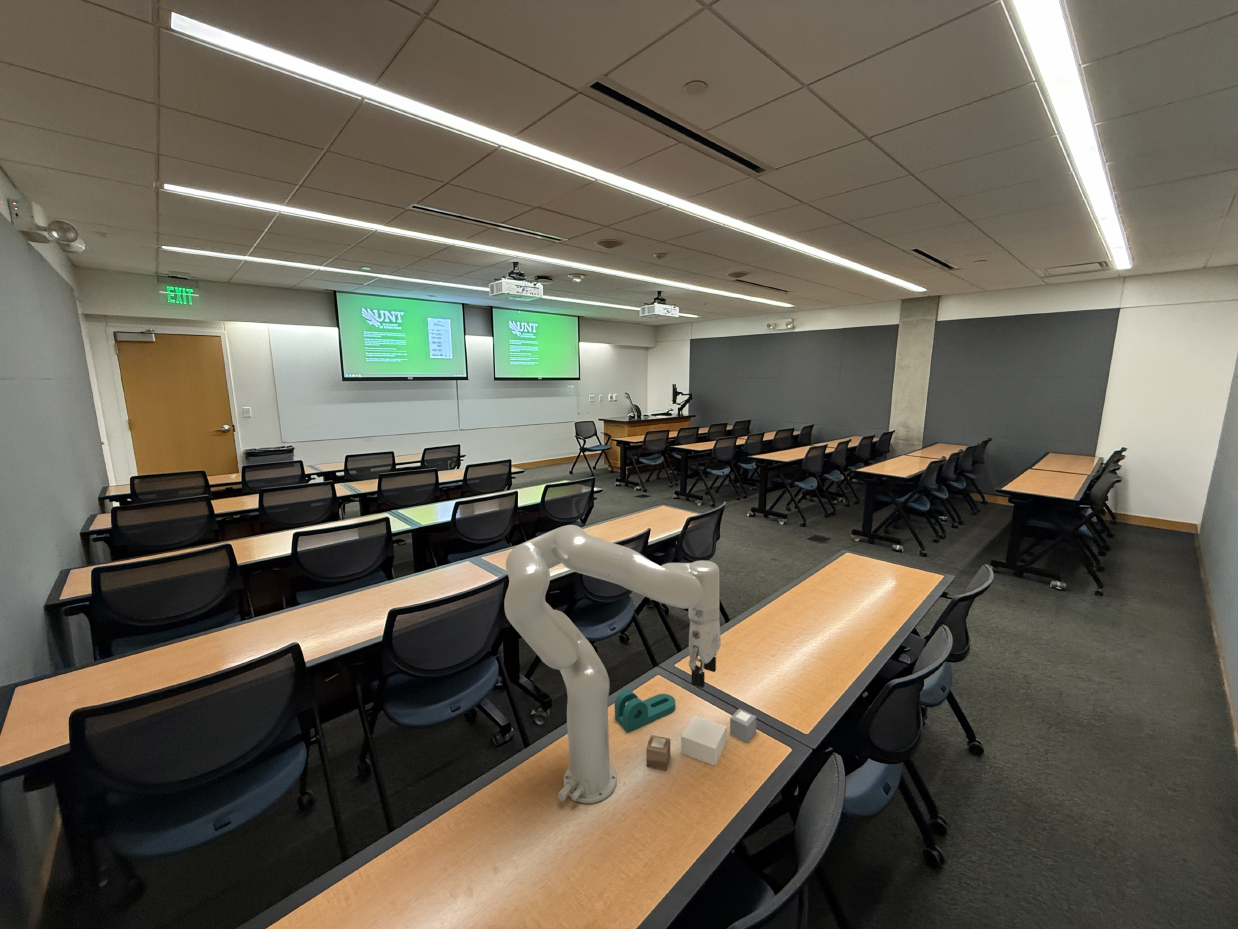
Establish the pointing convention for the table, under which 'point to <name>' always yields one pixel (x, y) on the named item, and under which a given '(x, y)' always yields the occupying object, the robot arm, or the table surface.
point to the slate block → (743, 725)
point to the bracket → (641, 709)
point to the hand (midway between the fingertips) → (704, 677)
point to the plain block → (704, 740)
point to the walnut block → (658, 752)
